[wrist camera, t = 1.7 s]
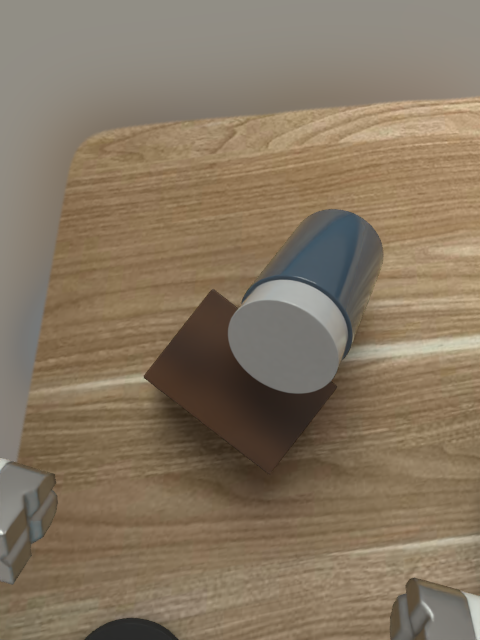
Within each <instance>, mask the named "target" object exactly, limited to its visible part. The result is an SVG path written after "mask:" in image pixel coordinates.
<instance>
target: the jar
mask: <svg viewBox="0 0 480 640" xmlns="http://www.w3.org/2000/svg"><path fill="white" fill-rule="evenodd" d="M382 264H383V247H382V243H381V240H380V238H379V236H378V234H377V233H376V231H375V230H374V229H373V227H372V226H371V225H370V224H369V223H368V222H367V221H365V220H364V219H363V218H361V217H360V216H358V215H356V214H354V213H351V212H348V211H344V210H337V209H329V210H322V211H319V212H316V213H314V214H312V215H310V216H308V217H307V218H305V219H304V220H303V221H302V222H301V223H300V224H299V225H298V227H297V228H296V229H295V231H294V232H293V233H292V234H291V236H290V237H289V238H288V239H287V241H286V242H285V243H284V245H283V246H282V247H281V248H280V250H279V251H278V252H277V253H276V255H275V256H274V257H273V258H272V260H271V261H270V262H269V264H268V265H267V266H266V267H265V269H264V270H263V271H262V272H261V274H260V275H259V276H258V278H257V279H256V280H255V281H254V283H253V284H252V285H251V286H250V288H249V289H248V290H247V292H246V293H245V295H244V297H243V299H242V303H241V305H240V307H239V308H238V309H237V310H236V312H235V313H234V315H233V316H232V318H231V320H230V323H229V327H228V340H229V344H230V348H231V350H232V352H233V354H234V356H235V358H236V360H237V361H238V363H239V364H240V365H241V366H242V368H243V369H244V370H245V371H246V372H247V373H249V374H250V375H251V376H252V377H253V378H255V379H256V380H258V381H259V382H261V383H263V384H264V385H266V386H268V387H270V388H273V389H276V390H279V391H282V392H287V393H295V394H302V393H310V392H314V391H317V390H319V389H321V388H323V387H324V386H326V385H327V384H328V383H329V382H331V380H332V379H333V378H334V376H335V374H336V372H337V370H338V368H339V365H340V363H341V361H342V360H343V359H344V358H345V357H346V355H347V354H348V352H349V350H350V348H351V345H352V343H353V340H354V338H355V335H356V332H357V330H358V327H359V325H360V322H361V319H362V317H363V314H364V312H365V309H366V307H367V304H368V301H369V299H370V296H371V294H372V291H373V288H374V286H375V283H376V281H377V278H378V275H379V273H380V270H381V267H382Z"/></svg>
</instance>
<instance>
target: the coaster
mask: <svg viewBox="0 0 480 640" xmlns="http://www.w3.org/2000/svg"><path fill="white" fill-rule="evenodd" d="M85 640H178V639H177V638H176V637H175V635H173V634H172V633H171V632H170V631H169V630H167V629H166V628H164V627H163V626H161V625H159V624H157V623H155V622H152V621H148V620H144V619H138V618H127V619H120V620H115V621H112V622H109V623H107V624H105V625H103V626H101V627H99V628H98V629H96V630H95V631H93V632H92V633H91V634H90V635H89V636H87V637H86V638H85Z"/></svg>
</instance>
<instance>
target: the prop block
mask: <svg viewBox="0 0 480 640" xmlns="http://www.w3.org/2000/svg"><path fill="white" fill-rule="evenodd" d="M237 309H238V308H237V307H236V306H234V305H233V304H232V303H231V302H229V301H228V300H227V299H226V298H224V297H223V296H222V295H220V294H219V293H218V292H217V291H215V290H214V289H212V290H211V291H210V292H209V293H208V295H207V296H206V297H205V299H204V300H203V301H202V302H201V304H200V305H199V306H198V307H197V309H196V310H195V311H194V313H193V314H192V315H191V316H190V318H189V319H188V320H187V321H186V323H185V324H184V325H183V327H182V328H181V329H180V330H179V332H178V333H177V334H176V335H175V337H174V338H173V339H172V341H171V342H170V343H169V344H168V346H167V347H166V348H165V349H164V351H163V352H162V353H161V355H160V356H159V357H158V358H157V360H156V361H155V362H154V363H153V365H152V366H151V367H150V369H149V370H148V371H147V372H146V374H145V375H144V378H145V379H146V380H148V381H149V382H150V383H151V384H153V385H154V386H155V387H157V388H158V389H159V390H160V391H162V392H163V393H164V394H166V395H167V396H168V397H170V398H171V399H172V400H173V401H175V402H176V403H177V404H179V405H180V406H181V407H182V408H184V409H185V410H186V411H188V412H189V413H190V414H192V415H193V416H194V417H195V418H197V419H198V420H199V421H201V422H202V423H203V424H204V425H206V426H207V427H208V428H210V429H211V430H212V431H213V432H215V433H216V434H217V435H219V436H220V437H221V438H223V439H224V440H225V441H226V442H228V443H229V444H230V445H232V446H233V447H234V448H235V449H237V450H238V451H239V452H241V453H242V454H243V455H244V456H246V457H247V458H248V459H250V460H251V461H252V462H254V463H255V464H256V465H257V466H259V467H260V468H261V469H263V470H264V471H265V472H266V473H268V474H270V473H271V472H272V471H273V469H274V468H275V467H276V466H277V464H278V463H279V462H280V460H281V459H282V458H283V457H284V455H285V454H286V453H287V451H288V450H289V449H290V448H291V446H292V445H293V444H294V442H295V441H296V440H297V439H298V437H299V436H300V435H301V433H302V432H303V431H304V429H305V428H306V427H307V426H308V424H309V423H310V422H311V420H312V419H313V418H314V417H315V415H316V414H317V413H318V411H319V410H320V409H321V408H322V406H323V405H324V404H325V402H326V401H327V400H328V399H329V397H330V396H331V395H332V393H333V392H334V391H335V389H336V388H337V386H336V385H335V384H334V383H333V382H329V383H328V384H327V385H326V386H324V387H323V388H321V389H319V390H317V391H314V392H310V393H302V394H295V393H287V392H282V391H279V390H276V389H273V388H270V387H268V386H266V385H264V384H263V383H261V382H259V381H258V380H256V379H255V378H253V377H252V376H251V375H250V374H249V373H247V372H246V371H245V370H244V369H243V368H242V366H241V365H240V364H239V363H238V361H237V360H236V358H235V356H234V354H233V352H232V350H231V348H230V344H229V340H228V327H229V323H230V320H231V318H232V316H233V315H234V313H235V312H236V310H237Z"/></svg>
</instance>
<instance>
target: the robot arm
mask: <svg viewBox="0 0 480 640" xmlns="http://www.w3.org/2000/svg"><path fill="white" fill-rule="evenodd" d="M55 484H56V479H55V474H53V473H50V472H46V471H43V470H40V469H36V468H33V467H29V466H26V465H23V464H19V463H16V462H14V461H11V460H7V459H3V458H0V581H2V582H5V583H9V584H14V582H15V581H16V579H17V578H18V576H19V574H20V573H21V571H22V570H23V568H24V567H25V565H26V564H27V562H28V560H29V559H30V557H31V556H32V552H31V544H32V543H34V542H36V541H37V540H39V539H41V538H42V537H44V535H45V533H46V532H47V530H48V529H49V527H50V525H51V523H52V521H53V518H54V516H55V513H56V510H57V504H58V499H57V495H56V494H55V492H54V491H53V490H52V489H53V487H54V486H55ZM390 639H391V640H480V596H477V595H474V594H470V593H467V592H463V591H460V590H458V589H454V588H451V587H447V586H443V585H439V584H436V583H432V582H428V581H425V580H421V579H417V578H412V579H410V580H409V581H408V582H407V584H406V594H403V595H400V596H398V597H397V599H396V601H395V602H394V604H393V607H392V612H391V616H390Z"/></svg>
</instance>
